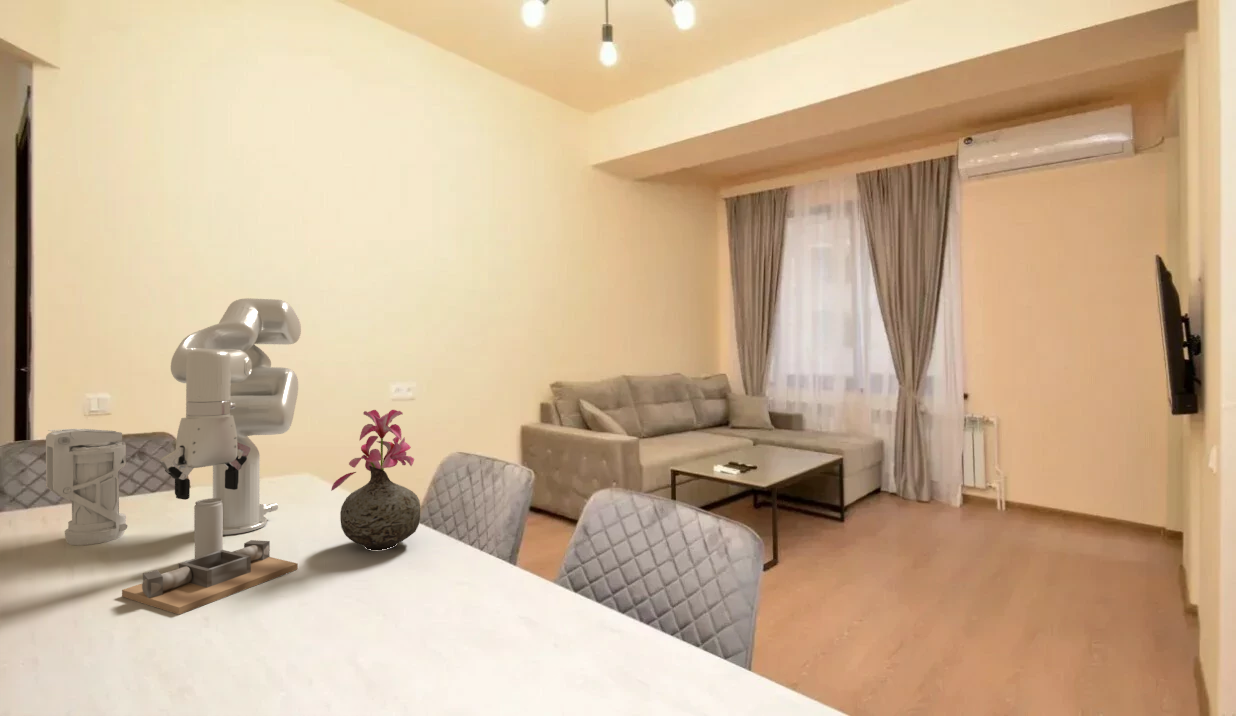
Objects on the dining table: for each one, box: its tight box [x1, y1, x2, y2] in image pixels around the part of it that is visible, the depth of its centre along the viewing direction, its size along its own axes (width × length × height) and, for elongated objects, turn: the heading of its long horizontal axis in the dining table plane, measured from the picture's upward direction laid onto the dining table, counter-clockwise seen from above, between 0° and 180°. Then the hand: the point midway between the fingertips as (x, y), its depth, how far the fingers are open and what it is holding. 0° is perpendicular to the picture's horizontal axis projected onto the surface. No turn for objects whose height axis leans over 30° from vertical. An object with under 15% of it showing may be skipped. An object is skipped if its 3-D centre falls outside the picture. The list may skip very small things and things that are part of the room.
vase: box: [330, 409, 421, 550], centre depth 133 cm, size 17×17×30 cm
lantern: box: [45, 428, 128, 546], centre depth 134 cm, size 13×10×25 cm
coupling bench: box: [121, 539, 299, 615], centre depth 112 cm, size 22×16×4 cm
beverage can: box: [193, 497, 224, 559], centre depth 124 cm, size 5×5×12 cm
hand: (207, 493), depth 123 cm, fingers open, 9 cm apart
